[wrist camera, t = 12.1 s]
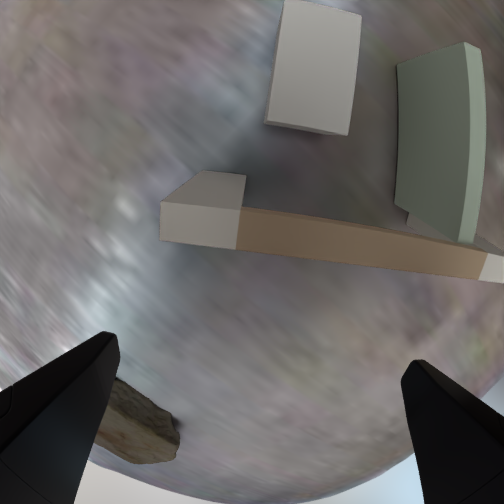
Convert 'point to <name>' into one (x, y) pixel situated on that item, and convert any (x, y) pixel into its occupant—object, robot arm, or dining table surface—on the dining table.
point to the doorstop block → (314, 68)
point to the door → (442, 139)
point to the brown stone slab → (137, 428)
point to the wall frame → (315, 234)
